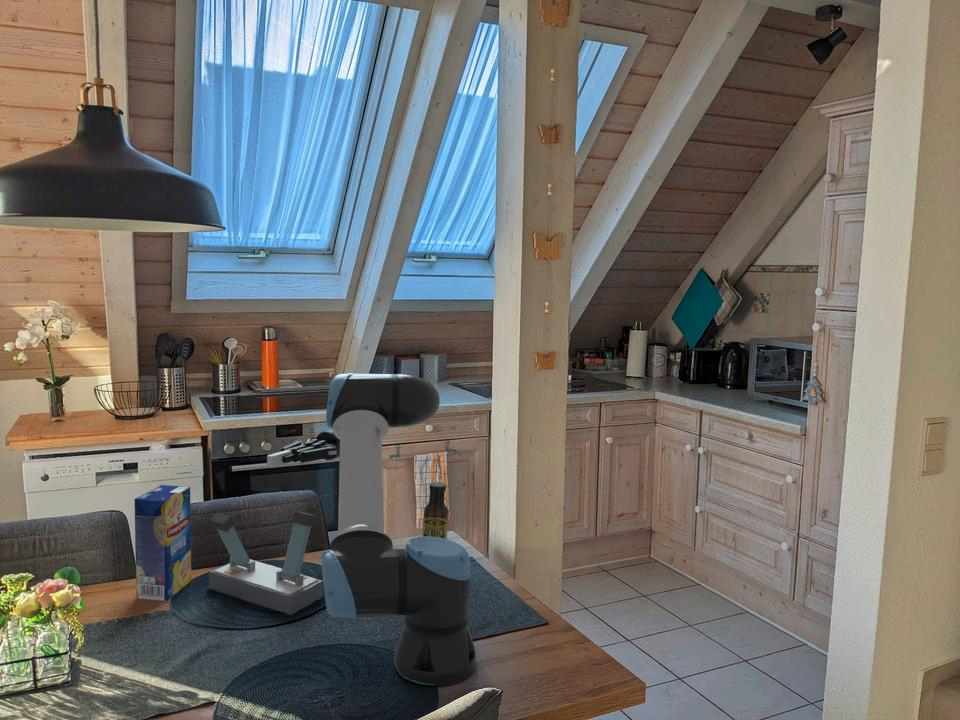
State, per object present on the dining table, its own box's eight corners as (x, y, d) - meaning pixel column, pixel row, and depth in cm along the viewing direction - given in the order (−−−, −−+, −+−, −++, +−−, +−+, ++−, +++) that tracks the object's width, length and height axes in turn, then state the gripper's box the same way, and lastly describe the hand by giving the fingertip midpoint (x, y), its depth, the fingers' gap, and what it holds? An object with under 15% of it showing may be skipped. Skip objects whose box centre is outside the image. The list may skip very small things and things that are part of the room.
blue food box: (191, 580, 174) (190, 486, 172) (166, 601, 164) (164, 501, 161) (162, 578, 175) (161, 484, 172) (136, 598, 164) (134, 499, 162)
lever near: (299, 582, 165) (315, 515, 168) (292, 582, 163) (308, 514, 166) (285, 578, 167) (301, 512, 169) (278, 578, 165) (294, 511, 167)
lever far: (253, 563, 172) (230, 516, 164) (246, 571, 170) (223, 523, 163) (240, 559, 174) (217, 512, 166) (233, 567, 172) (209, 520, 165)
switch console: (322, 598, 168) (323, 570, 167) (291, 615, 159) (291, 586, 158) (242, 573, 179) (242, 547, 178) (209, 588, 170) (209, 561, 170)
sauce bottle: (419, 565, 188) (421, 486, 185) (422, 555, 194) (424, 479, 192) (445, 566, 188) (448, 488, 185) (447, 557, 194) (450, 480, 191)
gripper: (355, 461, 194) (290, 482, 174) (315, 453, 201) (248, 473, 180) (355, 432, 193) (291, 449, 173) (316, 425, 200) (248, 441, 179)
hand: (269, 461), depth 176 cm, fingers closed
